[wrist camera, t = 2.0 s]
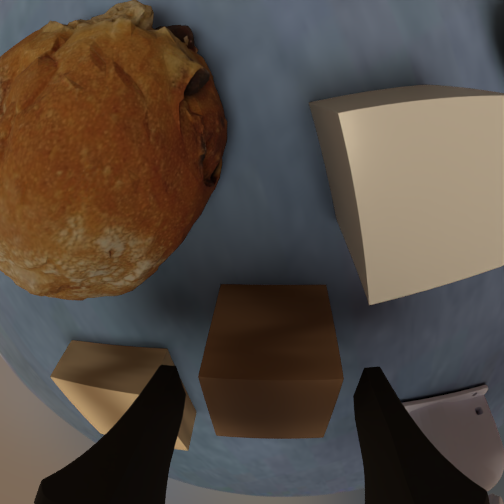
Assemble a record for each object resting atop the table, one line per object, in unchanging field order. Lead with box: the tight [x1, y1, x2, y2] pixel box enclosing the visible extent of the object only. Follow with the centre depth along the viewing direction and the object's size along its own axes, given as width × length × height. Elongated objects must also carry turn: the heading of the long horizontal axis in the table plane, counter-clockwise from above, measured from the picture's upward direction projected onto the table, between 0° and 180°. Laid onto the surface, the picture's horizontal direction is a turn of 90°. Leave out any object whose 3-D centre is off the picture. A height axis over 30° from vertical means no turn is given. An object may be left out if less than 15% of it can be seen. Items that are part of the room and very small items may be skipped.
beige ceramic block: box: [309, 85, 504, 305], centre depth 8 cm, size 4×4×5 cm
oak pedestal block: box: [50, 340, 196, 451], centre depth 16 cm, size 7×7×4 cm
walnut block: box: [198, 284, 344, 439], centre depth 12 cm, size 4×4×5 cm
